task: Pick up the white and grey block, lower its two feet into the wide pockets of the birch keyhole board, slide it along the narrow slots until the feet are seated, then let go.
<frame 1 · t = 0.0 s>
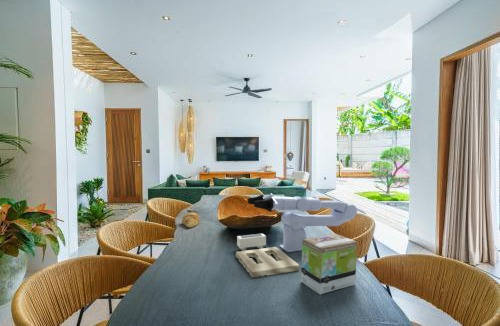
hand: (251, 202, 117), 22 cm above the table, tool horizontal, fingers open, 7 cm apart
keyhole board: (265, 263, 109), on the table
white and grey block: (251, 249, 124), on the table
croissant: (190, 224, 165), on the table
tea box: (328, 284, 92), on the table
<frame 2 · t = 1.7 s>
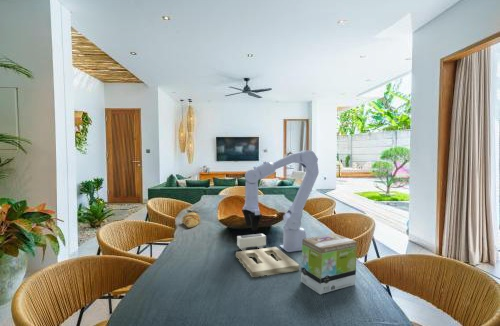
hand: (251, 227, 123), 9 cm above the table, tool pointing down, fingers open, 7 cm apart
nothing on the table moved.
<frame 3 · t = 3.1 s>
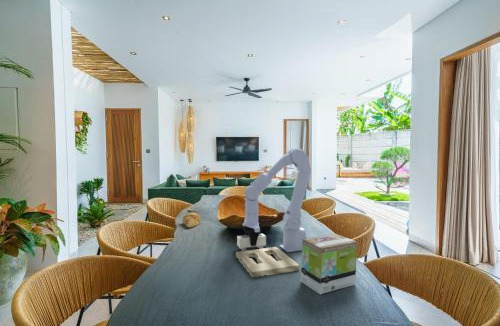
hand: (251, 243, 124), 2 cm above the table, tool pointing down, fingers closed on white and grey block, 4 cm apart
white and grey block: (251, 249, 124), on the table, touching gripper
everything else where it was.
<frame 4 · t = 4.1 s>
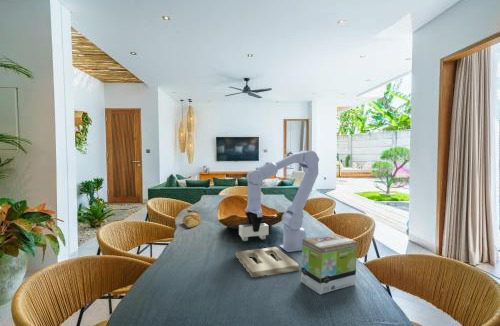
hand: (254, 230, 120), 9 cm above the table, tool pointing down, fingers closed on white and grey block, 4 cm apart
white and grey block: (253, 238, 120), point 6 cm above the table, touching gripper
everything else where it was.
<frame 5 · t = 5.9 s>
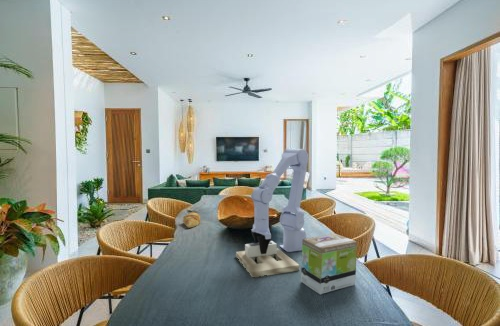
hand: (261, 251, 113), 3 cm above the table, tool pointing down, fingers closed on white and grey block, 4 cm apart
white and grey block: (260, 258, 113), resting in keyhole board, touching gripper
everything else where it was.
when the fingers open (3 cm above the table, at t = 7.7 s): white and grey block stays where it is, resting on keyhole board.
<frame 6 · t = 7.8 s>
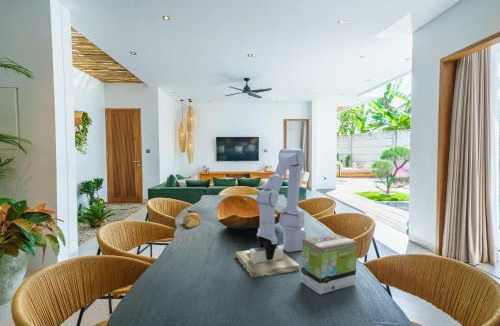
hand: (267, 256, 107), 3 cm above the table, tool pointing down, fingers open, 5 cm apart
white and grey block: (266, 263, 107), resting on keyhole board
everything else where it was.
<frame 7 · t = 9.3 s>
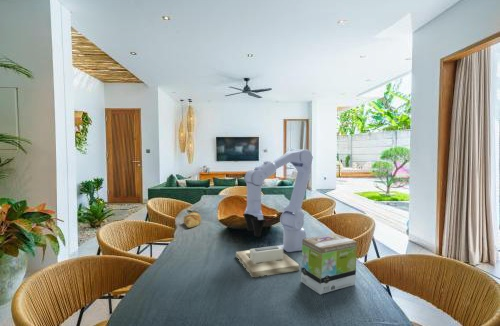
hand: (253, 233, 114), 10 cm above the table, tool pointing down, fingers open, 7 cm apart
nothing on the table moved.
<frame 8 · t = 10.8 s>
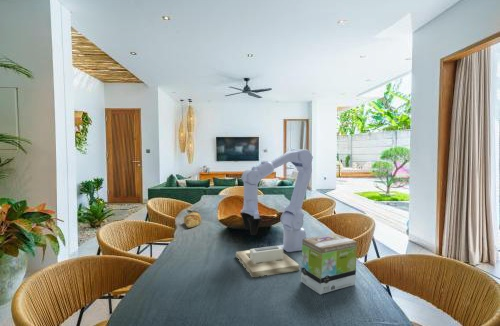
hand: (250, 232, 116), 10 cm above the table, tool pointing down, fingers open, 7 cm apart
at the end: white and grey block 0.3 cm from the target spot on the keyhole board, point 0.2 cm above the keyhole board's base; white and grey block tilted 0°; the gripper is holding nothing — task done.
